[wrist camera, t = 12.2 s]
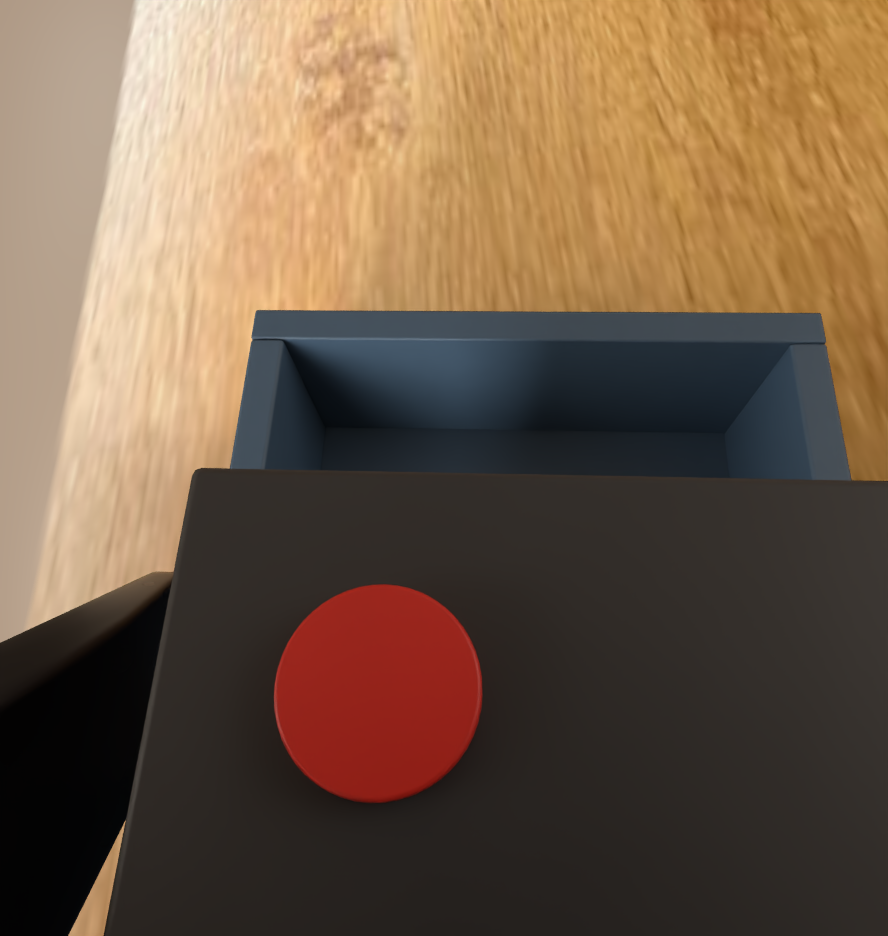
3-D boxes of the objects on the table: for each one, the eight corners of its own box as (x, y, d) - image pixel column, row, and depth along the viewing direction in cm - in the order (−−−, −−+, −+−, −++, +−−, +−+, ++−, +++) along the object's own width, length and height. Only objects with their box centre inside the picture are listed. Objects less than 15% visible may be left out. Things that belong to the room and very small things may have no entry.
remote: (631, 814, 15) (1388, 1068, 2) (408, 804, 15) (64, 980, 3) (625, 692, 15) (1144, 425, 3) (415, 684, 16) (181, 412, 4)
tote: (849, 1275, 12) (1059, 1569, 8) (205, 1216, 13) (60, 1454, 9) (740, 419, 18) (821, 311, 14) (308, 413, 19) (255, 309, 15)
